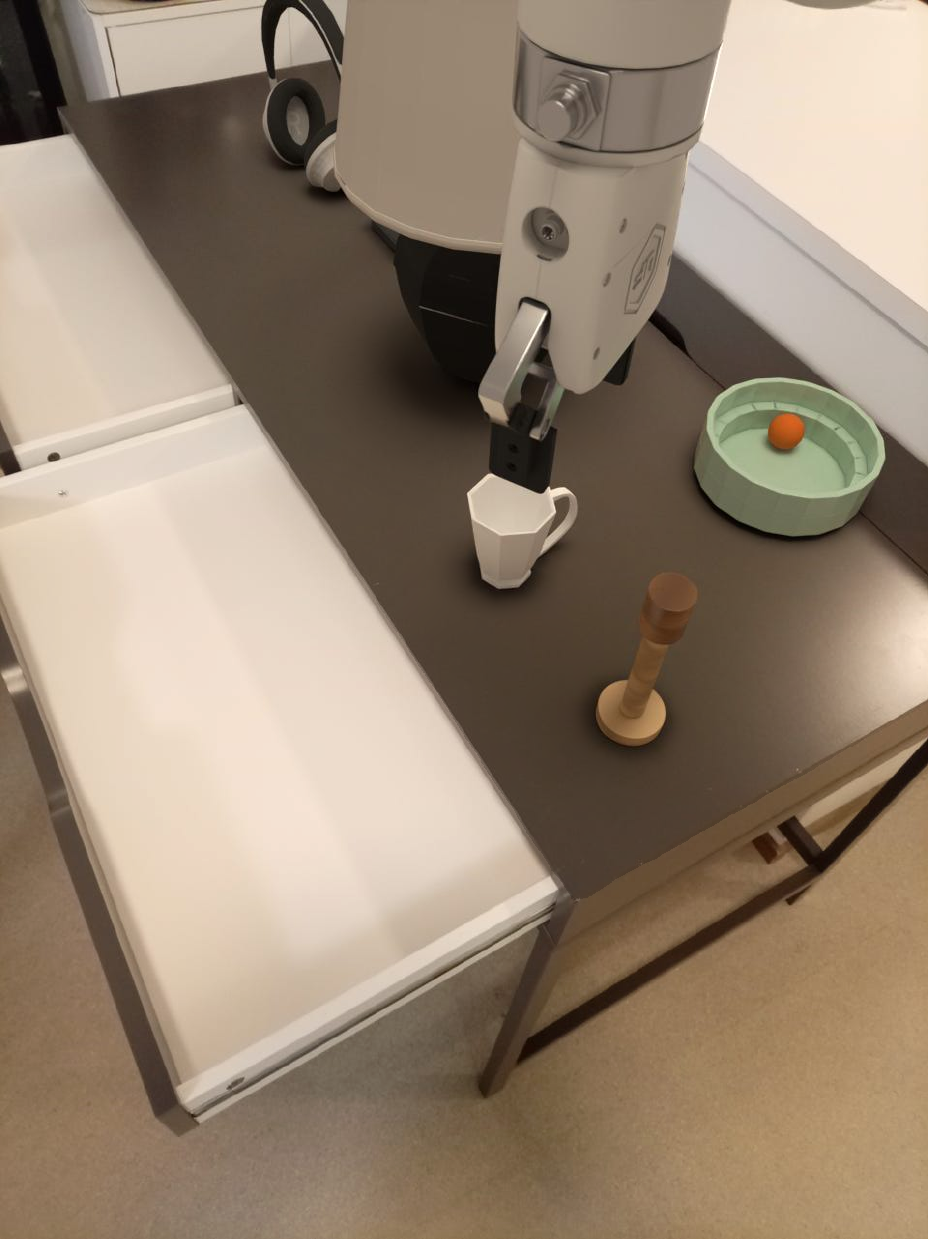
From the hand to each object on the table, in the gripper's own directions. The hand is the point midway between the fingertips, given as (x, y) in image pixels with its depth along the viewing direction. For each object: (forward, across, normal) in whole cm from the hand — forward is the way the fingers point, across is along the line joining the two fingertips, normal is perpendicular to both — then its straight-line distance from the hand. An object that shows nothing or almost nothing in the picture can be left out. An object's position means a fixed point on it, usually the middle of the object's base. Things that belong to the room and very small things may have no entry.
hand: (560, 425), depth 48 cm
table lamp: (+26, +31, +20) cm, 45 cm away
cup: (+26, +10, +6) cm, 28 cm away
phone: (+26, +51, +38) cm, 69 cm away
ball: (+23, +35, -9) cm, 43 cm away
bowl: (+25, +31, -10) cm, 41 cm away
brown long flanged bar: (+25, +1, -8) cm, 27 cm away
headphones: (+26, +53, +56) cm, 82 cm away
